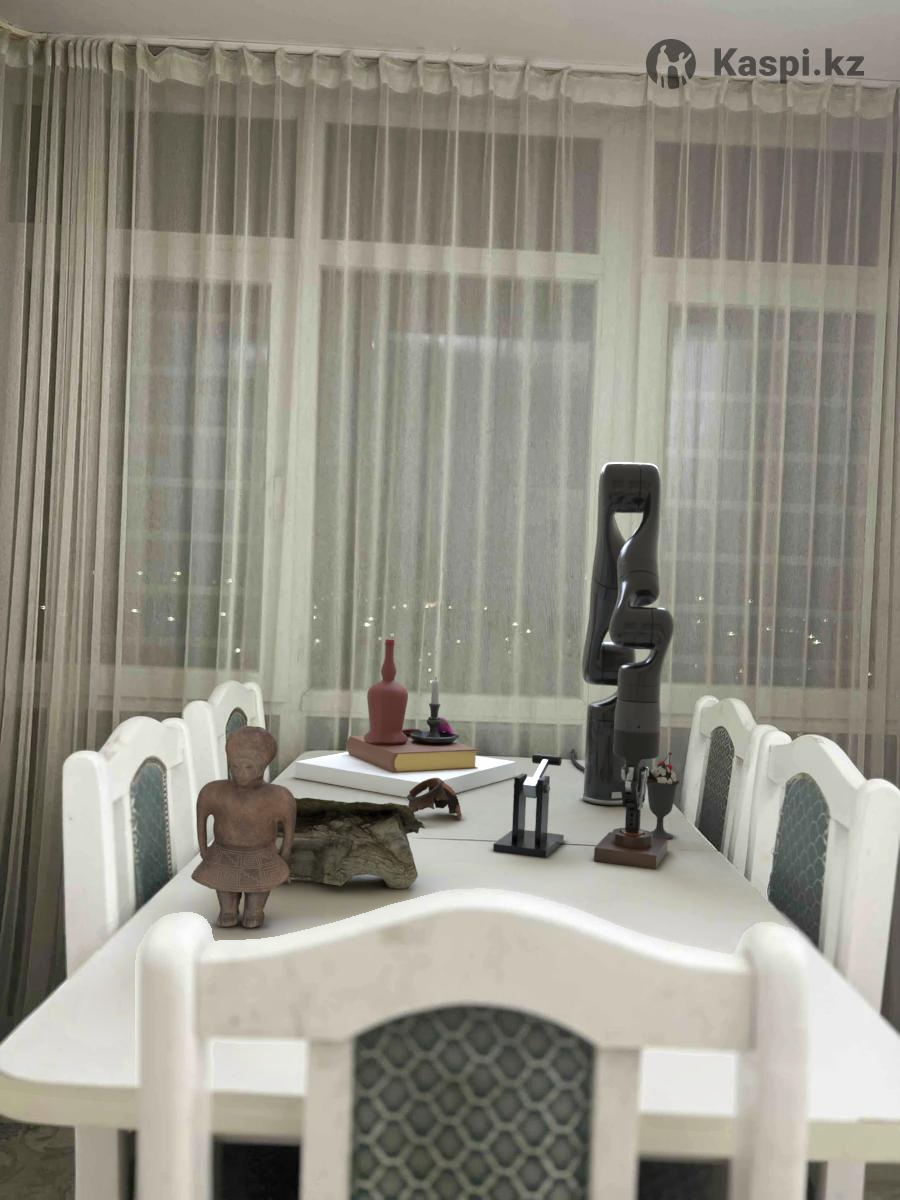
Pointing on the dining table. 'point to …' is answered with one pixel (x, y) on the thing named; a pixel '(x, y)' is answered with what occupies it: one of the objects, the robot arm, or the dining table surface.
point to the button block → (631, 849)
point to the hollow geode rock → (352, 842)
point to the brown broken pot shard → (434, 796)
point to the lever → (539, 773)
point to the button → (632, 833)
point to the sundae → (661, 795)
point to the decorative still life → (403, 748)
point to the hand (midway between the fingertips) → (632, 831)
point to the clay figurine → (245, 829)
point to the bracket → (539, 839)
